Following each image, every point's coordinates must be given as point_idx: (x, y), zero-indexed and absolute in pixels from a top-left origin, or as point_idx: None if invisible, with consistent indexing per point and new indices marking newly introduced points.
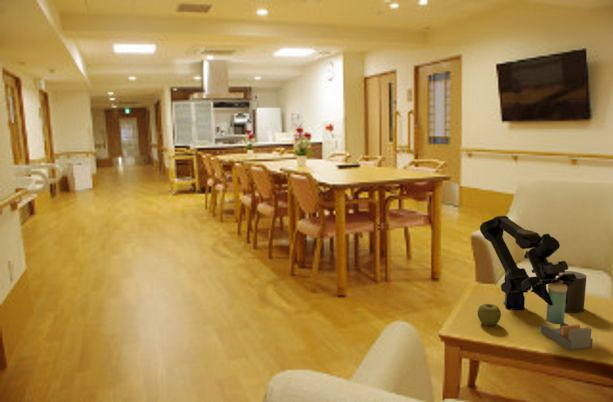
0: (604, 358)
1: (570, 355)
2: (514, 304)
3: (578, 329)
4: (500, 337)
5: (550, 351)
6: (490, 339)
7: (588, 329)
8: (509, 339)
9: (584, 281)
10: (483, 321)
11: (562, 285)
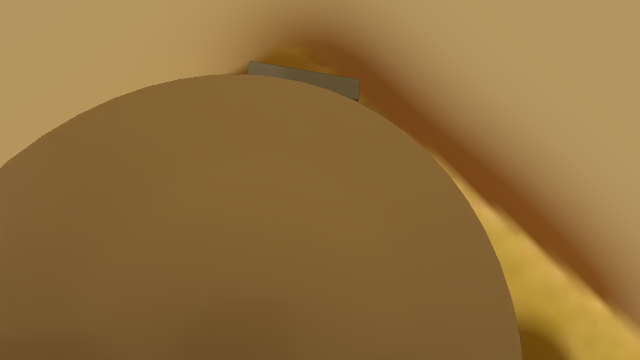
0: (279, 55)
1: (368, 107)
2: None
3: (313, 83)
4: (539, 320)
5: None
6: (586, 317)
7: (266, 65)
8: (510, 288)
9: None
10: None
11: (98, 255)
